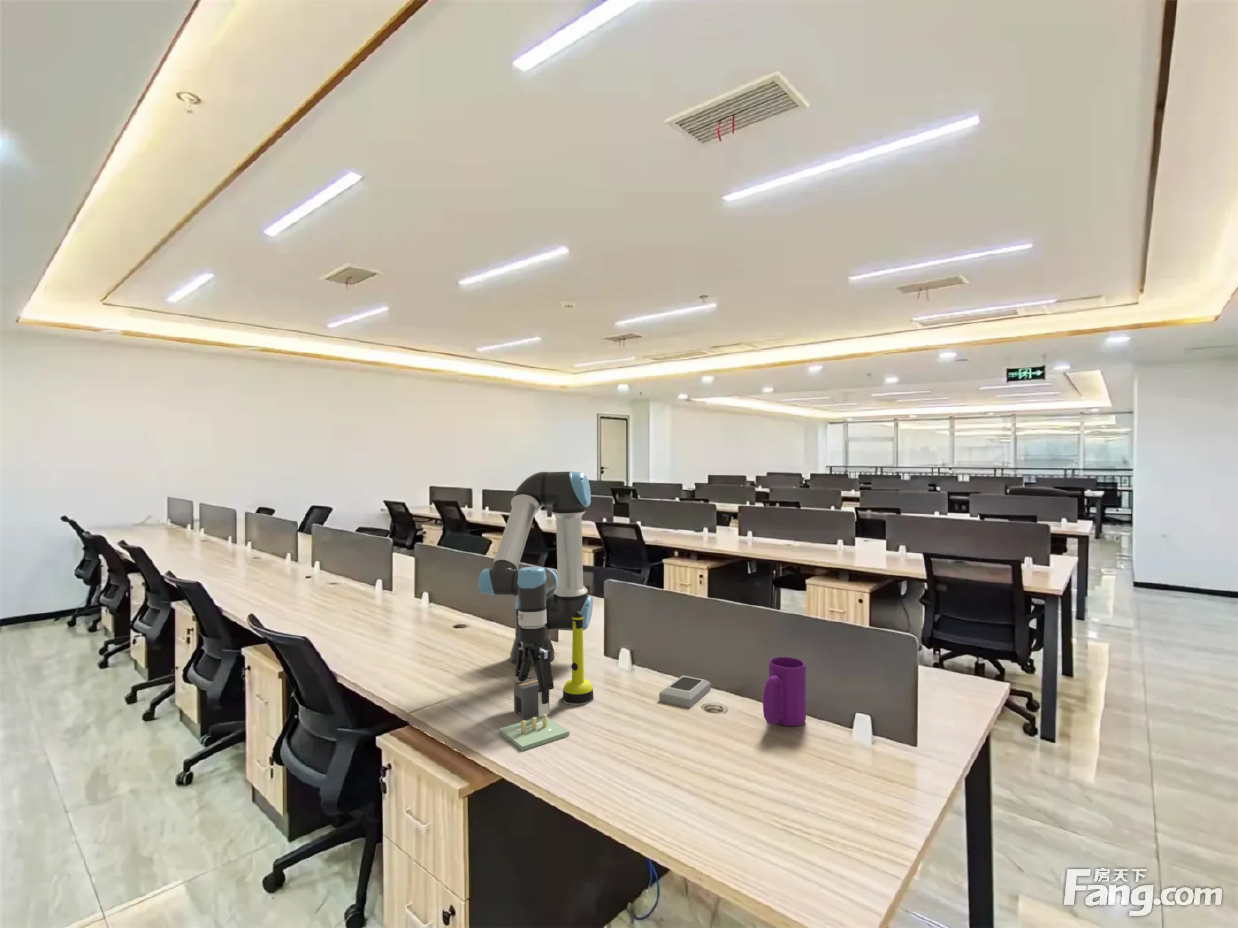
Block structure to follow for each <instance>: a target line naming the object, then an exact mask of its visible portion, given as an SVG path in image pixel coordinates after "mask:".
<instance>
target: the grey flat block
mask: <svg viewBox="0 0 1238 928" xmlns="http://www.w3.org/2000/svg"><path fill="white" fill-rule="evenodd" d="M711 685H712V684H711V682H710V681H708V680H707V679H704V678H699V677H698V678H697V677H692V676H688V675H681V676H680V677H679V678H678V679H676V680H675V681H674V682H672V683H670V684H669V685H668V686H666V687H665V688H664V689H663V690H661V691H660V692H659V693H658V701H659V702H663V703H666V704H667V703H668V704H672V705H676V706H681V707H685V708H688V709H689V708H692V707H693V706H694V705H696V703H698V702H699V701H700V700H701V699H703V698H704V697H705V696H706V695H707V694H708V693H709V692H710V691H711V689H712V688H711V687H712V686H711Z"/></svg>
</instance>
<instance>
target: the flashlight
mask: <svg viewBox="0 0 1238 928" xmlns="http://www.w3.org/2000/svg"><path fill="white" fill-rule="evenodd" d="M572 619H573V631H572V639H571V641H572V645H571V646H572V647H571V648H572V650H571V651H572V655H571V659H572V660H571V661H572V662H571V667H570V668H571V679H568V680H567V681H566V682H565V683H564V686H563V688H562V689H563V690H562V698H561V699H562V702H563V703H565V704H567V705H572V706H583V705H587V704H590V703H592V702H593V701H594V698H595V697H594V688H593V684H592V683H591V681H590V680H588V679H586V678H585V660H584V658H585V657H584V630H583V615H582V614H581V613H580V612H579V611H576V612H575V613H574V615H573V616H572Z"/></svg>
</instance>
